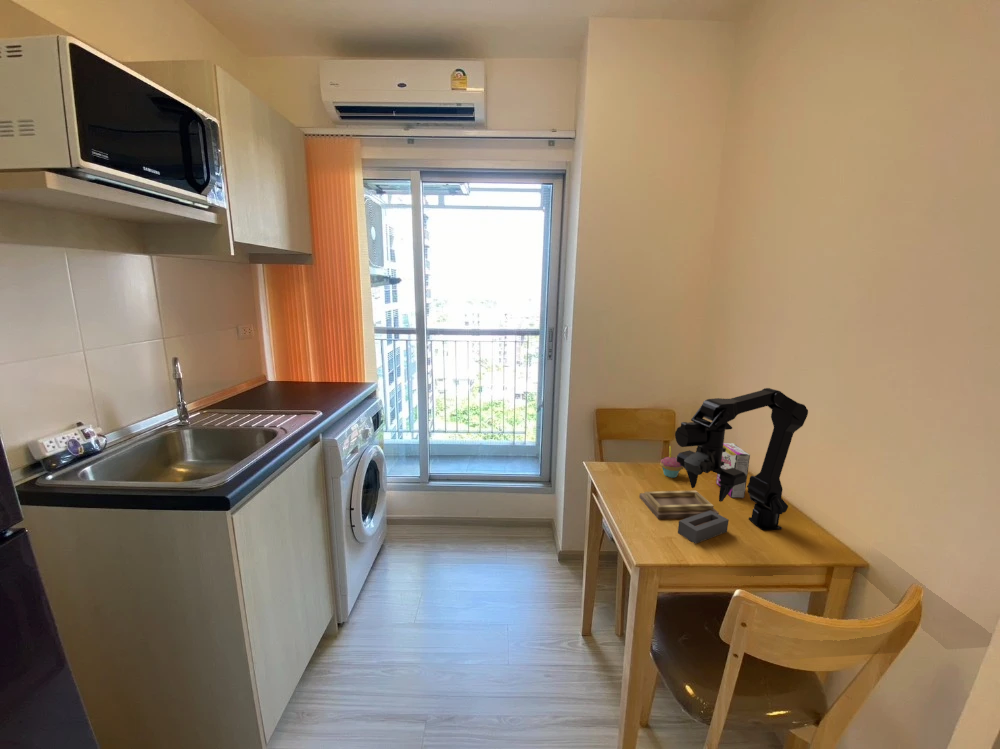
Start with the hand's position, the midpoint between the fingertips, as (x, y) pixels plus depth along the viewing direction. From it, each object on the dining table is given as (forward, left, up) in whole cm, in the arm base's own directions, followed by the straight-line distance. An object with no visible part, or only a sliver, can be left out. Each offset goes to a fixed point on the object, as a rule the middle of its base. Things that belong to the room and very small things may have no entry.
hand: (706, 494), depth 121 cm
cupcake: (-10, -39, -12) cm, 42 cm away
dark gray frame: (0, 0, -12) cm, 12 cm away
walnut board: (0, -15, -12) cm, 19 cm away
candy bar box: (-25, -25, -13) cm, 37 cm away
